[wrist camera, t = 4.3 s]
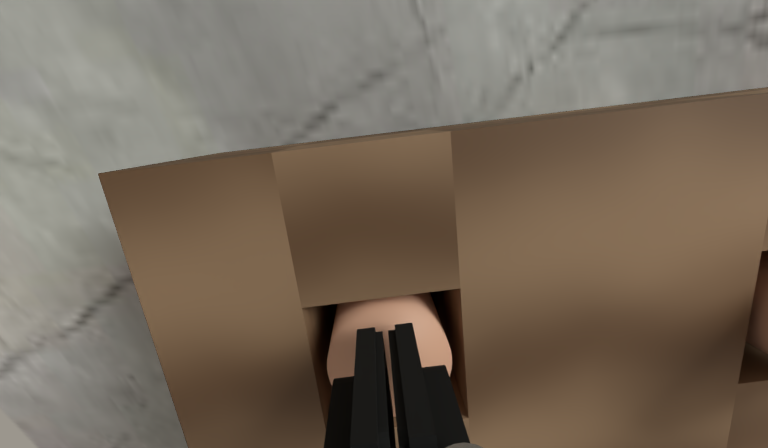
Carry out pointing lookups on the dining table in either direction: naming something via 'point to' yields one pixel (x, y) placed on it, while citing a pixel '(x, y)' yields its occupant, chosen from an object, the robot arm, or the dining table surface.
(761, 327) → the peg
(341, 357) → the peg
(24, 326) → the dining table surface
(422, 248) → the peg block
